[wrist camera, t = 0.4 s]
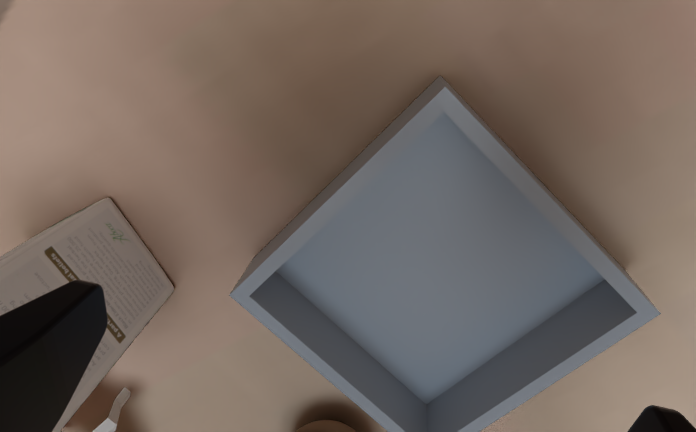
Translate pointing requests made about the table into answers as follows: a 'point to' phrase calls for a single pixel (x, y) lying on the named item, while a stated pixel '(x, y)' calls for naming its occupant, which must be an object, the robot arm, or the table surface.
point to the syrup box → (93, 266)
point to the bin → (440, 277)
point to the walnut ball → (326, 427)
